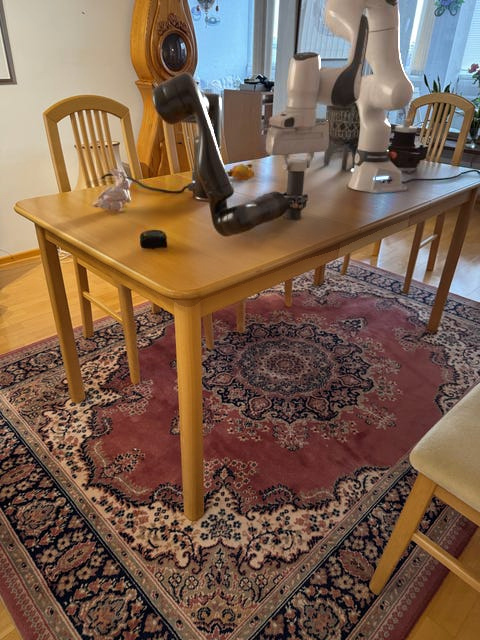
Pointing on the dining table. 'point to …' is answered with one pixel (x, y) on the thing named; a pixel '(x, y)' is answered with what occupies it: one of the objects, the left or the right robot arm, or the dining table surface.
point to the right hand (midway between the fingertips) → (296, 169)
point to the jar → (294, 191)
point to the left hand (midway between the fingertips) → (298, 195)
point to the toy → (242, 172)
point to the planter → (343, 132)
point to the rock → (340, 150)
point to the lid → (297, 164)
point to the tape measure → (153, 239)
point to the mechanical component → (407, 148)
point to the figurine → (115, 193)
